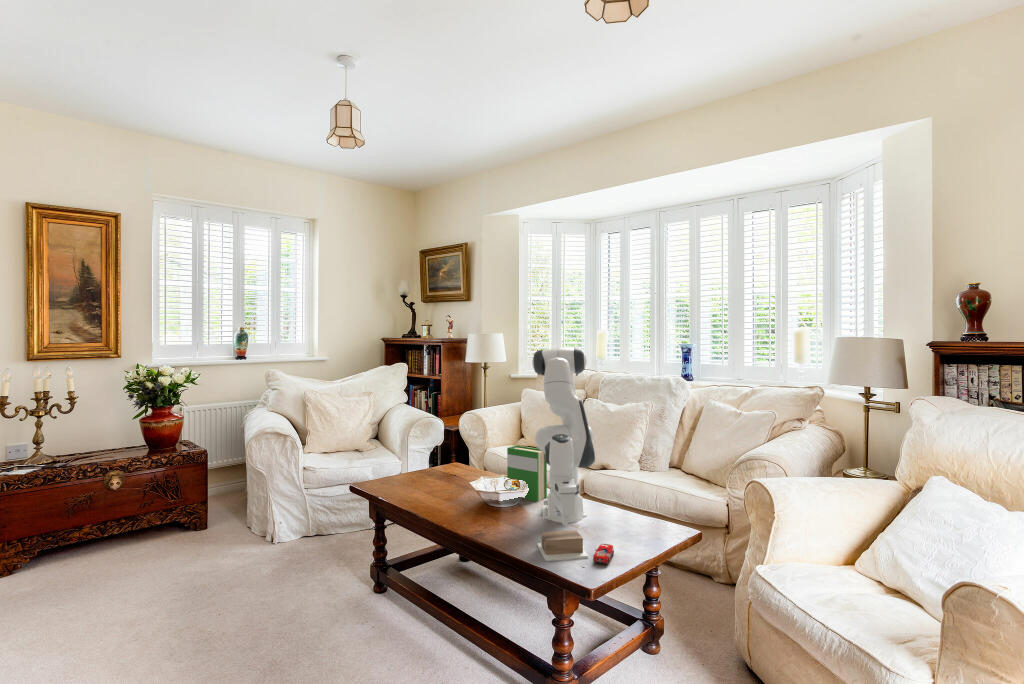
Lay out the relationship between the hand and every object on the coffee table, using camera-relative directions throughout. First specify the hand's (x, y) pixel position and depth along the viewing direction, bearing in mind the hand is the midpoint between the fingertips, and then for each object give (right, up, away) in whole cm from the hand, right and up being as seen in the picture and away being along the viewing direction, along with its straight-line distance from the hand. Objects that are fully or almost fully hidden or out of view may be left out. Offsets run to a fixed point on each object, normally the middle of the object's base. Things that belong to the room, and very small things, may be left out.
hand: (561, 520), depth 189 cm
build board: (0, -11, 0) cm, 11 cm away
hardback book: (-11, -11, +63) cm, 65 cm away
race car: (+13, -13, -10) cm, 21 cm away
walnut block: (0, -10, 0) cm, 10 cm away
